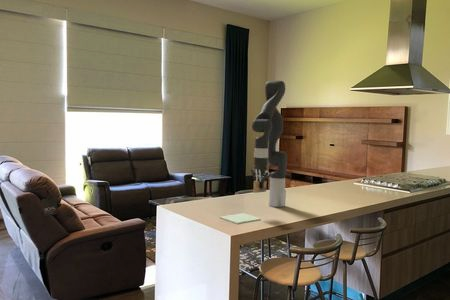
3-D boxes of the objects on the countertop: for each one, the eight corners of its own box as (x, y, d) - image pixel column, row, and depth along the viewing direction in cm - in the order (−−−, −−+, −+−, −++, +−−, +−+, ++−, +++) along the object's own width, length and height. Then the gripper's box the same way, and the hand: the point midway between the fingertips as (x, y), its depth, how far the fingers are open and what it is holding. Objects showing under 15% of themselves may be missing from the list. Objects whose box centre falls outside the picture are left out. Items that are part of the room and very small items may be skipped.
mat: (243, 214, 208) (243, 213, 208) (260, 219, 197) (260, 218, 197) (219, 217, 198) (219, 216, 198) (236, 224, 187) (236, 222, 187)
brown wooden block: (264, 190, 209) (264, 180, 209) (266, 191, 208) (266, 180, 207) (253, 192, 204) (253, 181, 204) (255, 192, 203) (255, 181, 203)
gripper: (275, 157, 202) (273, 190, 203) (257, 155, 212) (256, 186, 214) (264, 158, 197) (263, 191, 198) (247, 155, 208) (246, 187, 209)
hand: (259, 188), depth 206 cm, fingers closed on brown wooden block, 1 cm apart
